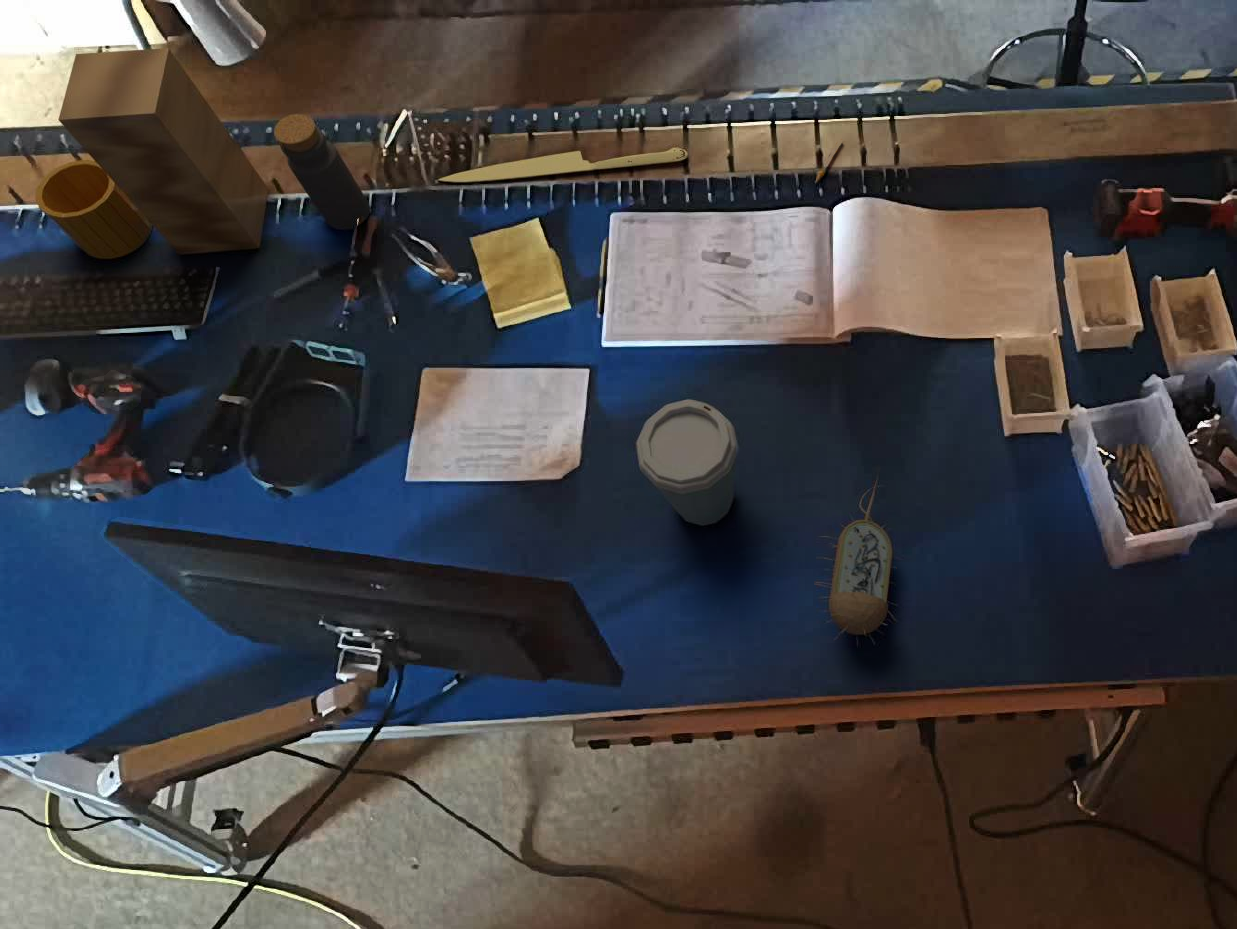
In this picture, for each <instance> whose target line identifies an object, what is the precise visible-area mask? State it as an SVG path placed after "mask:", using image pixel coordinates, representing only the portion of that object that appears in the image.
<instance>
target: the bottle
mask: <svg viewBox="0 0 1237 929" xmlns="http://www.w3.org/2000/svg"><path fill="white" fill-rule="evenodd" d="M273 135H274V137H275V139H276V141H278V142H279V148H280V150H281V151H282V153H283V154H284V156H286V161H287V164H288V167H289V169H290V170H291V172H292V173H293V175H294V176H295V178H296V179H297V181H298V182H299V184H300V185H301V187H302V188H303V190H304V191H305V193H306V194H307V196H308V197H309V199H310V200H311V202H312V203H313V205H314V206H315V208H316V209H317V211H318V213H319V214H320V215H321V216H322V218H323V220H324V221H325V222H326V224H327V225H328V226H329V227H331V228H333V229H335V230H339V231H349V230H353V229H356V228H357V227H356V226H357V219H358V218H359V217H362V216H363V217H368V218H369V217H370V214H371V205H370V203H369V201H368V200H367V198H366V196H365V195H364V193H363V191H362V190H361V188H360V186H359V185H358V183H357V181H356V180H355V177H354V176H353V174H352V172H351V171H350V169H349V168H348V166H347V164H346V162H345V161H344V158H342V156H341V154H340V152H339V151H338V150H337V148H336V146H335V145H334V144H333V143H332V142H331V141H329V140H327V138H326V135H325V134H324V132H323V131H322V129H320V127H318V126H316V123H315V120H313V118H312V117H310V116H308V115H306V114H302V113H296V114H295V113H294V114H290V115H287V116H285V117H283V118H281V119H280V120H279V121H278V122H277V123H276V124H275V126H274V129H273Z"/></svg>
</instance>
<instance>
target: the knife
mask: <svg viewBox="0 0 1237 929" xmlns="http://www.w3.org/2000/svg"><path fill="white" fill-rule="evenodd" d="M674 150H675V151H674ZM680 150H683V151H684V152H685V156H684V157H682V158H679V159H676V157H681V156H683V155H681V154H683V152H682V151H680ZM688 155H689V152H688V151H686V149H683V148H680V147H671V148H670V149H668V150H666V151H660V152H648V153H641V154H634V155H626V156H620V157H614V158H609V159H604V160H598V161H596V162H589V160H587V159H586V160H585V159H583V156H582V153H581V150H575V151H569V152H563V153H556V154H549V155H544V156H538V157H533V158H525V159H521V160H515V161H509V162H503V163H498V164H492V165H488V166H484V167H478V168H474V169H469V170H466V171H461V172H457V173H453V174H451V175H447V176H444V177H441V178H439V179H437V181H440V182H448V183H477V182H490V181H491V182H492V181H502V180H513V179H523V178H534V177H542V176H551V175H562V174H569V173H579V172H589V171H595V170H607V169H617V168H629V167H638V166H640V167H641V166H648V165H657V164H666V163H667V164H668V163H675V162H680V161H684V160H686V159H687V158H688ZM673 159H674V160H673ZM628 161H630V162H628ZM631 161H632V162H631Z"/></svg>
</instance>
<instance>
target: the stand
mask: <svg viewBox="0 0 1237 929" xmlns="http://www.w3.org/2000/svg"><path fill="white" fill-rule="evenodd" d="M58 122H60V124H61V125H62V126H63V127H64V128H65V129H66V131H68V133H69V134H70V135H71V136H72V137H73V139H75V140H76V142H77V143H78V144H79V145H80V146H81V148H83V150H85V152H86V153H87V154H88V155H89V156H90V157H91V158H92V159H93V161H96V163H97V164H98V165H99V166H100V167H101V168H102V169H103V170H104V172H105V173H106V174H107V175H108V176H109V177H110V178H111V179H112V181H113V182H114V183H115V184H116V185H117V186H118V187H119V188H120V189H121V191H122V192H123V193H124V194H125V195H126V196H127V197H128V198H129V200H130V201H131V202H132V203H133V204H134V205H135V206H136V207H137V208H138V210H139V211H140V212H141V213H142V214H143V215H144V216H145V217H146V219H147V220H148V221H149V222H150V223H151V224H152V225H153V226H152V227H153V228H154V229H155V230H156V231H157V232H158V233H159V234H160V235H161V237H162V238H163V239H164V240H165V241H166V242H167V243H168V244H169V246H170V247H171V248H172V249H173V250H174V251H175V252H176V254H177V255H193V254H205V253H216V252H228V251H242V250H252V249H253V250H254V249H260V248H261V241H262V235H263V228H264V224H265V223H264V222H265V215H266V209H267V202H268V197H269V196H268V195H269V190H270V188H269V187H268V185H267V184H266V183H265V181H264V180H263V178H262V177H261V176H260V174H259V173H258V172H257V169H256V168H255V167H254V166H253V164H252V163H251V161H250V160H249V159H248V157H247V156H246V155H245V153H244V152H243V150H242V149H241V148H240V146H239V145H238V143H237V142H236V141H235V139H234V137H233V136H232V135H231V134H230V132H229V131H228V129H227V128H226V126H225V125H224V123H223V122H222V120H221V119H220V118H219V117H218V115H217V114H216V112H215V111H214V109H213V107H211V105H210V104H209V102H208V101H207V100H206V98H205V97H204V95H203V94H202V93H201V91H200V90H199V88H198V87H197V85H196V84H195V83H194V82H193V80H192V79H191V77H190V76H189V74H188V73H187V72H186V70H185V69H184V67H183V66H182V64H181V63H180V62H179V61H178V59H177V58H176V56H175V54H174V53H173V52H172V50H171V49H170V48H169V47H164V48H162V47H161V48H147V49H133V50H131V49H130V50H118V51H117V50H115V51H103V52H102V51H101V52H87V53H86V52H85V53H76V54H75V56H74V60H73V64H72V68H71V71H70V75H69V79H68V83H67V86H66V90H65V93H64V97H63V101H62V104H61V109H60V112H59V116H58Z"/></svg>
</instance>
